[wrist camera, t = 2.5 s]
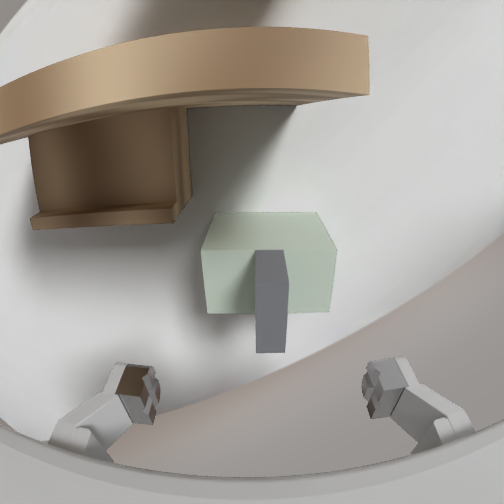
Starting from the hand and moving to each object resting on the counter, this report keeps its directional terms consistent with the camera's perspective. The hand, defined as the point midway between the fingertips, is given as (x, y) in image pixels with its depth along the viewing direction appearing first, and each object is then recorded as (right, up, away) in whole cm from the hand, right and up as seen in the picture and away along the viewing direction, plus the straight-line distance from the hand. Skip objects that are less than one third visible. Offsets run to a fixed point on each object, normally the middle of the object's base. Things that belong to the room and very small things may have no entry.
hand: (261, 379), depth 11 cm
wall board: (-6, +12, +8) cm, 16 cm away
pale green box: (+1, +6, +11) cm, 12 cm away
